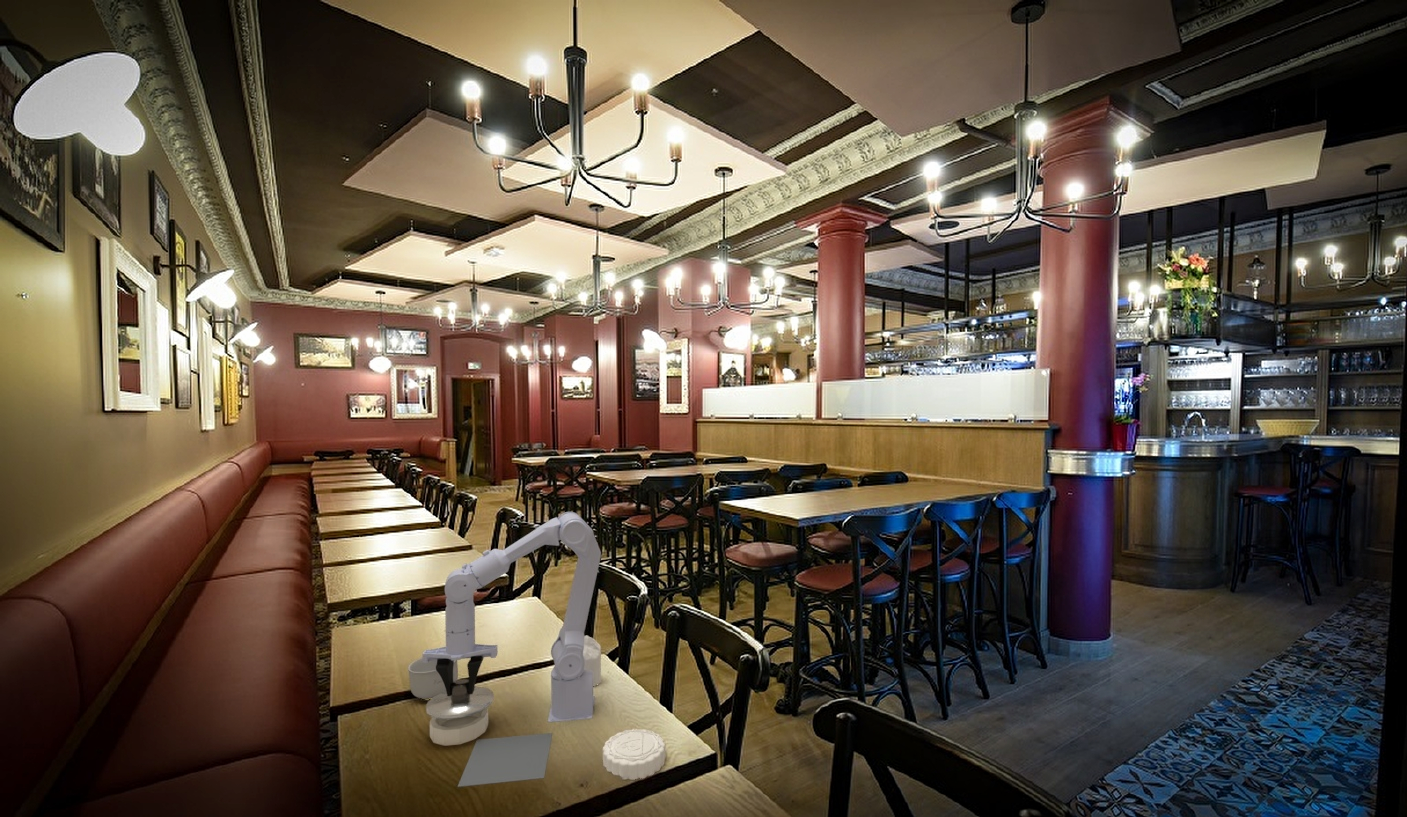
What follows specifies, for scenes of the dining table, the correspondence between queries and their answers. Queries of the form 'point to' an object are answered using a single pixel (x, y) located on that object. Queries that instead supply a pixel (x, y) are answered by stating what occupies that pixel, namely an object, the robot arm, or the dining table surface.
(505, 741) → the slate mat
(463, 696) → the steel lid
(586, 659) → the roll
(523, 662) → the dining table surface
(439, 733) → the cream dish
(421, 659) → the teacup
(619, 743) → the mooncake
